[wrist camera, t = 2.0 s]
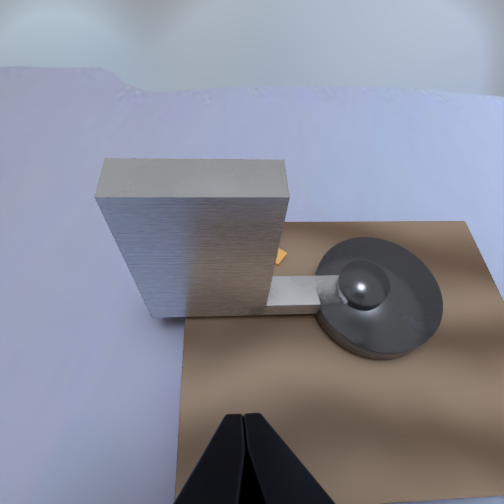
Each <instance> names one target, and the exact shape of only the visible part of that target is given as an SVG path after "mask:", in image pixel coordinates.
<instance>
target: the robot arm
mask: <svg viewBox="0 0 504 504" xmlns="http://www.w3.org/2000/svg"><path fill="white" fill-rule="evenodd" d="M173 504H336V503H335V502H334V501H333V500H332V498H331V497H330V496H329V495H328V494H327V492H326V491H325V490H324V489H323V488H322V486H321V485H320V484H319V483H318V482H317V480H316V479H315V478H314V477H313V476H312V474H311V473H310V472H309V471H308V469H307V468H306V467H305V466H304V465H303V463H302V462H301V461H300V460H299V459H298V457H297V456H296V455H295V454H294V453H293V451H292V450H291V449H290V448H289V447H288V445H287V444H286V443H285V442H284V440H283V439H282V438H281V437H280V436H279V434H278V433H277V432H276V431H275V430H274V428H273V427H272V426H271V425H270V424H269V422H268V421H267V420H266V419H265V418H264V416H263V415H262V414H261V413H245V414H244V415H242V414H240V413H238V414H226V415H225V416H224V418H223V419H222V421H221V423H220V424H219V426H218V428H217V430H216V431H215V433H214V435H213V436H212V438H211V440H210V441H209V443H208V445H207V447H206V448H205V450H204V452H203V453H202V455H201V457H200V459H199V460H198V462H197V464H196V465H195V467H194V469H193V470H192V472H191V474H190V476H189V477H188V479H187V481H186V482H185V484H184V486H183V488H182V489H181V491H180V493H179V494H178V496H177V498H176V499H175V501H174V503H173Z"/></svg>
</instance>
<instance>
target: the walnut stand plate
mask: <svg viewBox="0 0 504 504" xmlns="http://www.w3.org/2000/svg"><path fill="white" fill-rule="evenodd" d="M357 237H373V238H380V239H384V240H387V241H390V242H393V243H395V244H398V245H400V246H402V247H403V248H405V249H407V250H409V251H410V252H411V253H413V254H414V255H415V256H417V257H418V258H419V259H420V260H421V261H422V262H423V263H424V264H425V265H426V266H427V267H428V269H429V270H430V271H431V273H432V274H433V276H434V277H435V279H436V281H437V283H438V285H439V288H440V291H441V294H442V299H443V315H442V319H441V323H440V325H439V327H438V329H437V331H436V332H435V333H434V335H433V336H432V337H431V338H430V339H429V340H428V341H426V342H425V343H424V344H422V345H421V346H419V347H418V348H416V349H415V350H413V351H412V352H410V353H409V354H407V355H404V356H402V357H399V358H395V359H386V360H383V359H372V358H367V357H364V356H360V355H358V354H355V353H353V352H351V351H349V350H347V349H346V348H344V347H342V346H341V345H340V344H338V343H337V342H336V341H335V340H334V339H332V338H331V337H330V336H329V335H328V333H327V332H326V331H325V330H324V329H323V327H322V326H321V324H320V323H319V321H318V319H317V317H316V315H315V314H281V315H241V316H200V317H185V332H184V349H183V366H182V383H181V400H180V418H179V435H178V452H177V469H176V486H175V499H176V498H177V496H178V494H179V493H180V491H181V489H182V488H183V486H184V484H185V482H186V481H187V479H188V477H189V476H190V474H191V472H192V470H193V469H194V467H195V465H196V464H197V462H198V460H199V459H200V457H201V455H202V453H203V452H204V450H205V448H206V447H207V445H208V443H209V441H210V440H211V438H212V436H213V435H214V433H215V431H216V430H217V428H218V426H219V424H220V423H221V421H222V419H223V418H224V416H225V415H226V414H238V413H240V414H242V415H244V414H245V413H261V414H262V415H263V416H264V418H265V419H266V420H267V421H268V422H269V424H270V425H271V426H272V427H273V428H274V430H275V431H276V432H277V433H278V434H279V436H280V437H281V438H282V439H283V440H284V442H285V443H286V444H287V445H288V447H289V448H290V449H291V450H292V451H293V453H294V454H295V455H296V456H297V457H298V459H299V460H300V461H301V462H302V463H303V465H304V466H305V467H306V468H307V469H308V471H309V472H310V473H311V474H312V476H313V477H314V478H315V479H316V480H317V482H318V483H319V484H320V485H321V486H322V488H323V489H324V490H325V491H326V492H327V494H328V495H329V496H330V497H331V498H332V500H333V501H334V502H335V503H336V504H382V503H398V502H413V501H428V500H443V499H458V498H473V497H489V496H504V301H503V299H502V297H501V295H500V293H499V290H498V288H497V286H496V284H495V282H494V280H493V278H492V276H491V274H490V272H489V270H488V268H487V266H486V264H485V262H484V259H483V257H482V255H481V253H480V251H479V249H478V247H477V245H476V243H475V241H474V239H473V237H472V235H471V233H470V231H469V228H468V226H467V224H466V222H465V221H399V222H284V226H283V230H282V235H281V240H280V244H279V248H280V249H281V250H283V251H285V252H286V253H287V256H286V257H285V258H284V259H283V261H282V262H281V263H280V264H279V266H276V265H275V268H274V272H273V276H314V275H315V272H316V270H317V268H318V265H319V263H320V261H321V259H322V258H323V256H324V255H325V254H326V252H327V251H328V250H329V249H331V248H332V247H333V246H335V245H336V244H338V243H340V242H342V241H344V240H348V239H351V238H357Z"/></svg>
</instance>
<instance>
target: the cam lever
mask: <svg viewBox="0 0 504 504" xmlns="http://www.w3.org/2000/svg"><path fill="white" fill-rule="evenodd" d="M289 198H290V197H289V190H288V183H287V176H286V169H285V162H284V160H246V159H124V158H105V159H104V163H103V167H102V171H101V175H100V178H99V182H98V186H97V190H96V194H95V199H96V201H97V203H98V206H99V208H100V210H101V212H102V214H103V216H104V218H105V220H106V222H107V224H108V227H109V229H110V231H111V233H112V235H113V237H114V239H115V241H116V243H117V245H118V248H119V250H120V252H121V254H122V256H123V258H124V260H125V262H126V264H127V266H128V269H129V271H130V273H131V275H132V277H133V279H134V281H135V283H136V285H137V287H138V290H139V292H140V294H141V296H142V298H143V300H144V302H145V304H146V306H147V308H148V311H149V313H150V315H151V317H152V318H159V317H200V316H241V315H281V314H315V315H316V317H317V319H318V321H319V323H320V324H321V326H322V327H323V329H324V330H325V331H326V332H327V333H328V335H329V336H330V337H331V338H332V339H334V340H335V341H336V342H337V343H338V344H340V345H341V346H342V347H344V348H346V349H347V350H349V351H351V352H353V353H355V354H358V355H360V356H364V357H367V358H372V359H383V360H386V359H395V358H399V357H402V356H404V355H407V354H409V353H410V352H412V351H413V350H415V349H416V348H418V347H419V346H421V345H422V344H424V343H425V342H426V341H428V340H429V339H430V338H431V337H432V336H433V335H434V333H435V332H436V331H437V329H438V327H439V325H440V323H441V319H442V315H443V299H442V294H441V291H440V288H439V285H438V283H437V281H436V279H435V277H434V276H433V274H432V273H431V271H430V270H429V269H428V267H427V266H426V265H425V264H424V263H423V262H422V261H421V260H420V259H419V258H418V257H417V256H415V255H414V254H413V253H411V252H410V251H409V250H407V249H405V248H403V247H402V246H400V245H398V244H395V243H393V242H390V241H387V240H384V239H380V238H373V237H357V238H351V239H348V240H344V241H342V242H340V243H338V244H336V245H335V246H333V247H332V248H331V249H329V250H328V251H327V252H326V254H325V255H324V256H323V258H322V259H321V261H320V263H319V265H318V268H317V270H316V272H315V275H314V276H273V272H274V268H275V263H276V258H277V254H278V249H279V244H280V240H281V235H282V230H283V226H284V221H285V216H286V212H287V207H288V202H289Z"/></svg>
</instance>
